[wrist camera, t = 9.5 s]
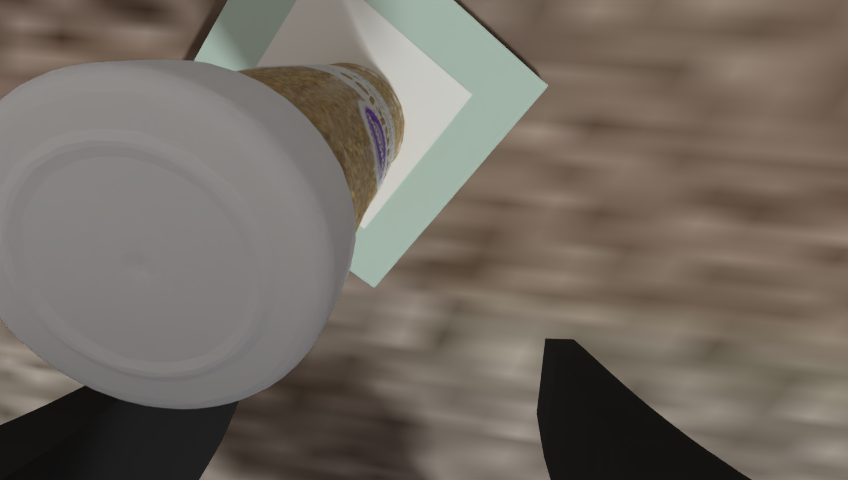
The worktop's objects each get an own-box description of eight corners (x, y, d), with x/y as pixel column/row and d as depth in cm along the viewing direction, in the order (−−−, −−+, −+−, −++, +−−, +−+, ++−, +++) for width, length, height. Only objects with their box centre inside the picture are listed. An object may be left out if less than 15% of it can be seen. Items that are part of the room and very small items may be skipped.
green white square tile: (375, 281, 21) (373, 288, 20) (163, 128, 19) (154, 130, 18) (544, 85, 18) (548, 85, 17) (309, -129, 16) (303, -137, 15)
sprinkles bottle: (425, 149, 18) (399, 349, 6) (326, 198, 19) (114, 467, 6) (369, 36, 17) (167, -34, 4) (265, 95, 18) (-162, 183, 5)
